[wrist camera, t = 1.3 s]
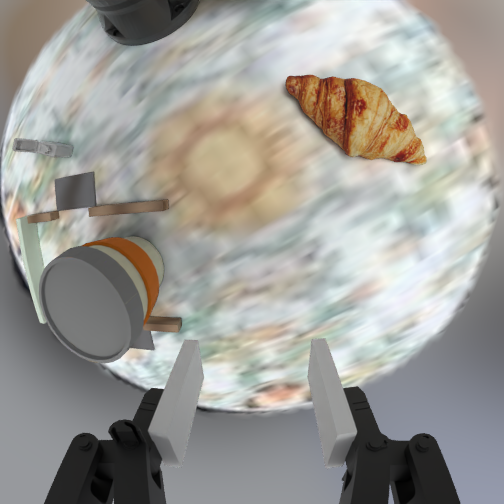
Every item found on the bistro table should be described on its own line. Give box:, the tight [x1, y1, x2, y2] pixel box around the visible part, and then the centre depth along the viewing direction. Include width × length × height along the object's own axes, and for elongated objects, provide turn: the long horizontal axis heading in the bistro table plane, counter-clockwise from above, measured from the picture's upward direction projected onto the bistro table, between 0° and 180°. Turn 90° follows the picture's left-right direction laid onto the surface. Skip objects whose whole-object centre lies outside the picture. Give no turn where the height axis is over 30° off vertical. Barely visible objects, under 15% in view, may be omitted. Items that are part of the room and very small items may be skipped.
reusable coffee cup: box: [39, 236, 164, 363], centre depth 30 cm, size 13×12×15 cm
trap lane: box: [27, 172, 182, 350], centre depth 37 cm, size 27×28×2 cm
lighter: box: [12, 138, 74, 157], centre depth 29 cm, size 7×2×8 cm, turn 70°
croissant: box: [286, 75, 426, 165], centre depth 29 cm, size 21×10×8 cm, turn 68°
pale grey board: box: [16, 214, 46, 323], centre depth 36 cm, size 1×18×4 cm, turn 1°
